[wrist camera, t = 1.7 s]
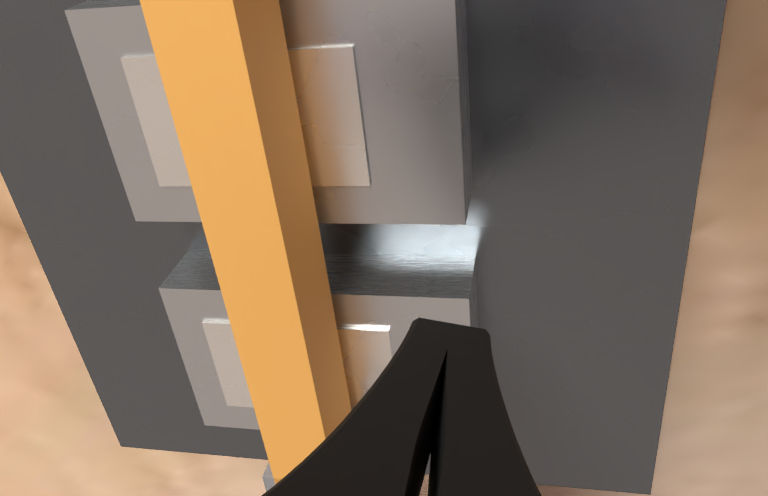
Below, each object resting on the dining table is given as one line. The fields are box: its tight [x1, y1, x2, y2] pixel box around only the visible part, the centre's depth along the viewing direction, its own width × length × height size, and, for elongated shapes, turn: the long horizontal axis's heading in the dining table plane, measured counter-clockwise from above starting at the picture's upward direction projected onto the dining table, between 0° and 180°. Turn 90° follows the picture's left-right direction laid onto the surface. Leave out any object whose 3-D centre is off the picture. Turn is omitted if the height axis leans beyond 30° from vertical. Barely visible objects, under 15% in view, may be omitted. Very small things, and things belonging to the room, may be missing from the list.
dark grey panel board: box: [0, 0, 726, 495], centre depth 17 cm, size 18×22×3 cm
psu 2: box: [158, 251, 478, 430], centre depth 19 cm, size 8×5×2 cm, turn 96°
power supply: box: [64, 0, 473, 225], centre depth 15 cm, size 8×5×2 cm, turn 96°
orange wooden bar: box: [140, 0, 351, 491], centre depth 14 cm, size 18×3×2 cm, turn 6°
